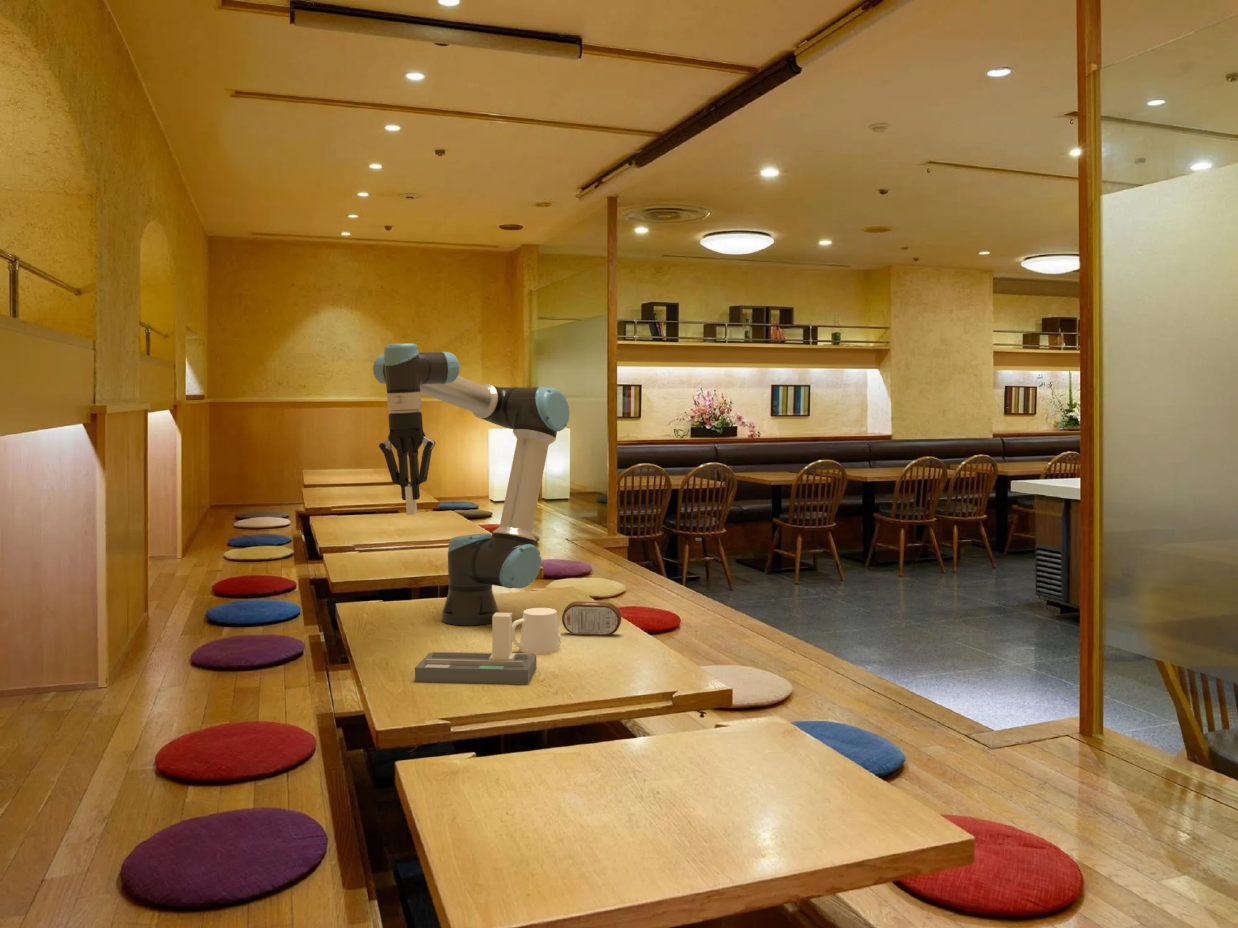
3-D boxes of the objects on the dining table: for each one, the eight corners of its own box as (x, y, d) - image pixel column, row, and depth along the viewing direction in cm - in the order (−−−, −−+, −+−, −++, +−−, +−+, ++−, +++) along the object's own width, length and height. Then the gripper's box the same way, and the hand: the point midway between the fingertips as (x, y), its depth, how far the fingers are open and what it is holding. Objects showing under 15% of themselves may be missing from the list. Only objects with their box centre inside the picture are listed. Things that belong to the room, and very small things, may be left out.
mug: (553, 606, 231) (564, 612, 224) (553, 643, 232) (564, 651, 225) (505, 610, 226) (516, 617, 219) (505, 649, 227) (516, 657, 220)
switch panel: (429, 665, 212) (429, 648, 212) (536, 668, 211) (536, 650, 210) (415, 681, 200) (414, 662, 200) (528, 684, 199) (528, 665, 198)
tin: (621, 634, 242) (621, 601, 241) (620, 637, 239) (620, 604, 238) (562, 632, 243) (563, 600, 243) (561, 635, 240) (561, 602, 240)
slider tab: (492, 657, 207) (492, 611, 206) (515, 657, 207) (515, 612, 206) (488, 662, 203) (488, 616, 202) (512, 663, 202) (512, 616, 202)
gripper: (371, 413, 214) (378, 517, 216) (426, 411, 212) (433, 515, 214) (384, 412, 221) (391, 512, 224) (437, 409, 220) (444, 510, 222)
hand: (412, 513), depth 219 cm, fingers closed
